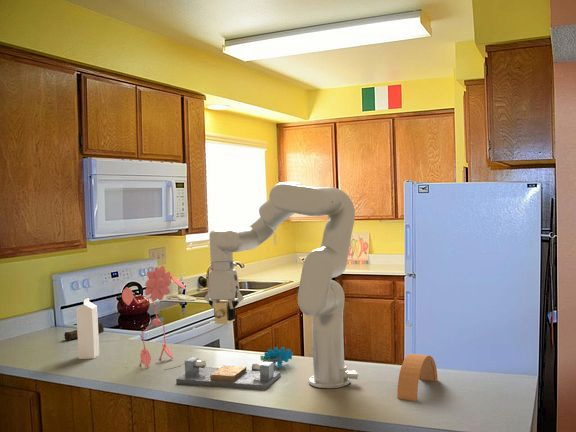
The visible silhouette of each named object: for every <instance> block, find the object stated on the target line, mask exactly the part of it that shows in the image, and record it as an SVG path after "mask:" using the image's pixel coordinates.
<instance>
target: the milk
mask: <svg viewBox="0 0 576 432" xmlns="http://www.w3.org/2000/svg"><path fill="white" fill-rule="evenodd" d="M75 312H76V313H75V314H76V328H77V329H76V330H77V335H78V338H77V350H78V351H77V353H78V354H77V355H78V360H89V359H91V360H92V359H96V358H97V357H98V356H99V355H100V342H99V341H100V339H99V338H100V337H99V333H98V323H99V321H98V320H99V319H98V315H99V314H98V305H96V304H94V303H93V302H91V301H90V298H89V297H87V298H85V299H84V300H83V304H82V305H80V306H79V307H77V308H75Z"/></svg>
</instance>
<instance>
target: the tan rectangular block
mask: <svg viewBox="0 0 576 432" xmlns="http://www.w3.org/2000/svg"><path fill="white" fill-rule="evenodd" d="M229 309H230V306H229V303H228V300H220V301H218V302H215V303H214V309H213V312H214V311H215V317H214V324H216V325H228V324H230V323H232V322H234V321H235V320H236V318H235V319H234V320H232V321H229Z"/></svg>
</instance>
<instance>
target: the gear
mask: <svg viewBox="0 0 576 432" xmlns="http://www.w3.org/2000/svg"><path fill="white" fill-rule="evenodd" d="M263 354H264V355H260V361H261V362H262V363H263V362H273V365H276V363H277V370H281V369H282V367H281V365H282V364H283V362H285V363H288V362H289V360H292V358H293V355H294V353H293V351H291V349H290V348H286V349H285V346H281V347H280V349H279V348H278V346H275V347H273V349H271V348H269V349H268V350H267V351H264V353H263Z"/></svg>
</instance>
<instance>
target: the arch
mask: <svg viewBox="0 0 576 432" xmlns="http://www.w3.org/2000/svg"><path fill="white" fill-rule="evenodd" d="M400 366H401V367H400V369H399V374H398V380H397V381H398V382H397V390H396V391H397V395H396V397H397V399H400V400H401V399H402V400H407V401H413V402H417V401H418V391H419V381H420V380H423V381H429V382H431V381H432V382H438V380H439V379H438V370H437V365H436V361H435V359H434V358H433V356H432V355H427V354H417V353H409V354H407V355H406V356H405V358H404V360H403V362H402V364H401V365H400Z"/></svg>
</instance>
